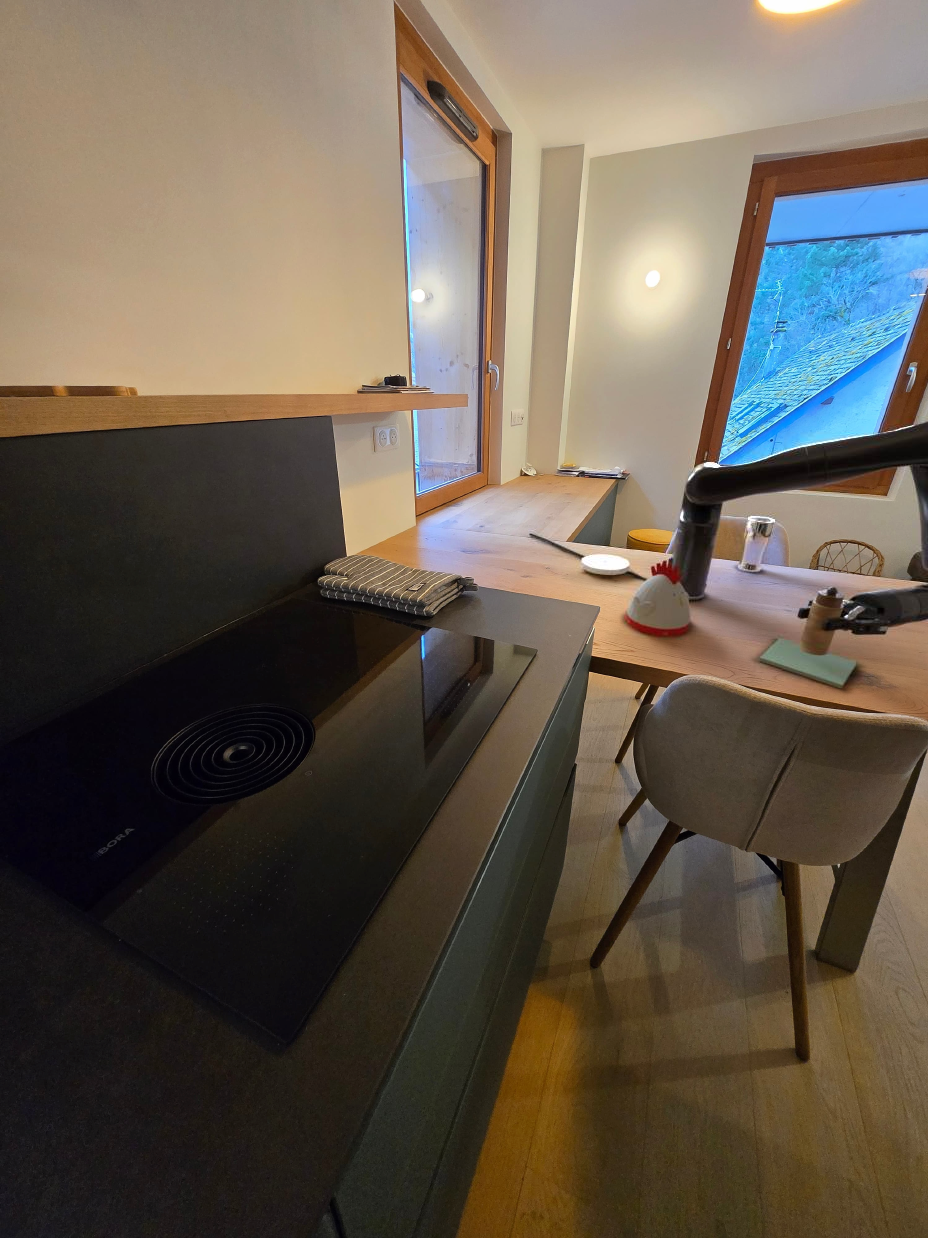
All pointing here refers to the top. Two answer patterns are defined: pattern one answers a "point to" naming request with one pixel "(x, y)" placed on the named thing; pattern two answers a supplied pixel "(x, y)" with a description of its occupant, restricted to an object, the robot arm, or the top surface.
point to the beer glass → (755, 543)
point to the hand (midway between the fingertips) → (812, 619)
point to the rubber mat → (809, 663)
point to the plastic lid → (605, 564)
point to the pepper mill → (821, 622)
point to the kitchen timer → (660, 603)
